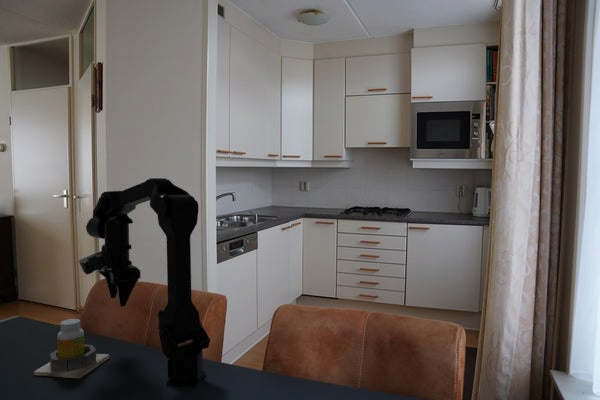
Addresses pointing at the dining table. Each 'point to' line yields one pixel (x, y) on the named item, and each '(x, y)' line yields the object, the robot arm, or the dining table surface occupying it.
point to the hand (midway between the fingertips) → (117, 301)
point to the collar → (72, 364)
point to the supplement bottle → (70, 339)
